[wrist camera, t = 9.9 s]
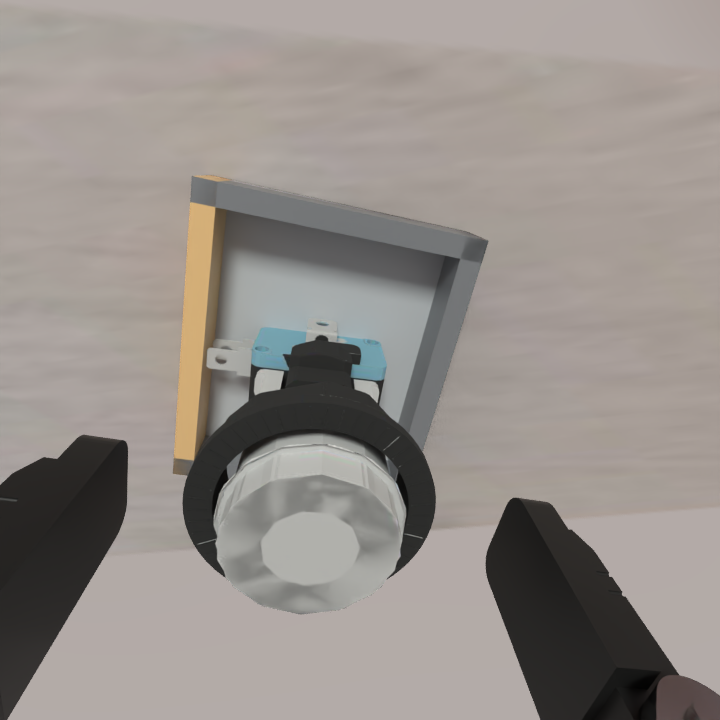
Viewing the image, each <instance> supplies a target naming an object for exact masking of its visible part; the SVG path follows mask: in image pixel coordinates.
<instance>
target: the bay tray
mask: <svg viewBox="0 0 720 720" xmlns="http://www.w3.org/2000/svg"><path fill="white" fill-rule="evenodd" d="M487 244H488V240H485V239H483V238H481V237H478V236H476V235H474V234H471V233H469V232H466V231H462V230H457V229H452V228H448V227H443V226H439V225H434V224H430V223H425V222H421V221H416V220H412V219H407V218H403V217H398V216H393V215H389V214H384V213H380V212H375V211H371V210H366V209H362V208H357V207H353V206H348V205H344V204H339V203H335V202H330V201H325V200H321V199H316V198H312V197H307V196H303V195H298V194H294V193H289V192H285V191H280V190H276V189H271V188H266V187H262V186H257V185H253V184H248V183H244V182H239V181H235V180H230V179H226V178H221V177H217V176H212V175H206V176H192V182H191V198H190V213H189V229H188V245H187V261H186V276H185V292H184V308H183V324H182V339H181V355H180V371H179V386H178V402H177V418H176V434H175V449H174V465H173V474H179V475H187V476H188V474H189V471H190V469H191V467H192V465H193V462H194V460H195V458H196V456H197V455H198V453H199V451H200V449H201V448H202V446H203V445H204V444H205V442H206V441H207V439H208V438H209V437H210V436H211V435H212V434H213V433H214V432H215V431H216V430H217V429H218V428H219V427H220V426H222V425H223V424H224V423H225V422H226V420H227V418H228V417H229V416H230V415H231V414H233V413H234V412H235V411H236V410H238V409H239V408H240V407H241V406H243V405H244V404H245V403H246V402H248V399H249V385H250V377H248V376H239V375H237V371H228V370H219V369H210V368H208V367H207V366H206V365H207V349H209V348H213V340H215V339H222V340H231V341H239V342H243V338H245V339H253V340H256V338H257V336H258V333H259V331H260V329H261V328H264V327H271V328H279V329H286V330H294V331H302V332H307V326H308V319H310V318H317V319H325V320H332V321H335V322H337V336H342V337H350V338H358V339H372V340H376V341H379V342H380V343H381V345H382V350H383V353H384V356H385V360H386V363H387V368H386V373H385V378H384V383H383V388H382V394H381V399H380V404H379V406H380V407H381V408H382V409H383V410H384V411H385V412H386V413H387V414H388V415H389V417H390V418H392V419H393V420H395V421H396V422H397V423H398V424H399V425H401V426H402V427H403V428H404V429H405V430H406V431H407V432H408V433H409V434H410V435H411V436H412V437H413V439H414V440H415V442H416V443H417V444H418V446H419V447H420V449H421V451H423V448H424V444H425V441H426V438H427V435H428V432H429V429H430V425H431V422H432V419H433V416H434V413H435V409H436V406H437V403H438V400H439V397H440V394H441V390H442V387H443V384H444V381H445V378H446V374H447V371H448V368H449V365H450V362H451V359H452V355H453V352H454V349H455V346H456V343H457V339H458V336H459V333H460V330H461V327H462V324H463V320H464V317H465V314H466V311H467V308H468V304H469V301H470V298H471V295H472V292H473V289H474V285H475V282H476V279H477V276H478V273H479V269H480V266H481V263H482V260H483V257H484V254H485V250H486V247H487ZM317 324H318V325H321V326H328V325H327V324H323V323H317ZM221 349H226V350H232V349H231V347H229V346H227V345H224V346H222V347H221ZM216 361H217V362H218V363H219V364H225V363H226V362H227V360H223V359H216ZM241 454H242V452H241V453H240V454H238V455H237V456H236V457H235V458H234V459H233V460H232V461H231V462H230V463H229V464H228V466H227V474H228V479H230V478H231V477H232V476H233V475H234V474H235V473H236V471H237V468H238V464H239V461H240V457H241ZM385 456H386V455H385ZM386 462H387V467H388V472H389V476H391V477H392V478H393V480H394V481H395V482H396V478H397V474H398V469H397V468H396V466H395V465H394V464H393V463H392V461H391V460H390V459H389V458H388V457H387V456H386Z"/></svg>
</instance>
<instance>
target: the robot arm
mask: <svg viewBox="0 0 720 720" xmlns="http://www.w3.org/2000/svg"><path fill="white" fill-rule="evenodd" d="M127 472H128V447H127V443H126V442H125V441H124V440H117V439H110V438H103V437H96V436H89V435H81V436H80V437H78V438H77V439H76V440H75V441H74V442H73V443H72V444H71V445H70V446H69V447H68V448H67V449H66V450H65V451H64V452H63V454H62V455H61V456H60V457H59V458H58V459H53V458H46V457H43V458H41V459H39V460H38V461H36V462H34V463H32V464H30V465H28V466H26V467H24V468H22V469H20V470H18V471H16V472H14V473H13V474H11V475H10V476H9V477H8V478H7V479H6V480H5V481H4V482H3V483H2V484H1V485H0V720H7V719H8V717H9V716H10V714H11V712H12V711H13V709H14V707H15V705H16V704H17V702H18V701H19V699H20V697H21V696H22V694H23V692H24V691H25V689H26V687H27V685H28V684H29V682H30V680H31V679H32V677H33V675H34V674H35V672H36V670H37V669H38V667H39V665H40V664H41V662H42V660H43V659H44V657H45V655H46V654H47V652H48V650H49V649H50V647H51V645H52V643H53V642H54V640H55V639H56V637H57V635H58V633H59V632H60V630H61V629H62V627H63V625H64V624H65V622H66V620H67V619H68V617H69V615H70V613H71V612H72V610H73V608H74V607H75V605H76V603H77V602H78V600H79V598H80V597H81V595H82V593H83V592H84V590H85V588H86V587H87V585H88V583H89V582H90V580H91V578H92V577H93V575H94V573H95V572H96V570H97V568H98V566H99V565H100V563H101V561H102V560H103V558H104V557H105V555H106V553H107V552H108V550H109V548H110V546H111V545H112V543H113V541H114V540H115V538H116V536H117V535H118V532H119V530H120V528H121V525H122V523H123V519H124V516H125V512H126V506H127ZM486 573H487V578H488V582H489V584H490V587H491V590H492V592H493V595H494V598H495V600H496V603H497V606H498V608H499V611H500V613H501V616H502V619H503V621H504V624H505V627H506V629H507V632H508V634H509V637H510V640H511V643H512V645H513V648H514V651H515V653H516V656H517V659H518V661H519V664H520V667H521V669H522V672H523V675H524V677H525V680H526V683H527V685H528V688H529V691H530V693H531V696H532V698H533V701H534V703H535V706H536V709H537V712H538V714H539V717H540V720H720V696H719V695H718V694H717V693H716V692H714V691H712V690H711V689H710V688H708V687H706V686H705V685H703V684H701V683H699V682H697V681H695V680H693V679H690V678H687V677H684V676H680V675H679V674H678V673H677V671H676V670H675V668H674V667H673V665H672V664H671V662H670V661H669V659H668V658H667V657H666V655H665V654H664V652H663V651H662V649H661V648H660V646H659V645H658V643H657V642H656V641H655V639H654V638H653V636H652V635H651V633H650V632H649V630H648V629H647V627H646V626H645V624H644V623H643V622H642V620H641V619H640V617H639V616H638V614H637V613H636V611H635V610H634V608H633V607H632V605H631V604H630V603H629V602H628V600H627V598H626V597H624V596H622V591H621V590H620V588H619V587H618V585H617V584H616V582H615V581H614V579H613V578H612V577H609V572H608V570H607V569H606V568H605V566H604V565H603V563H602V562H601V560H600V559H599V557H598V556H597V554H596V553H595V552H594V550H593V549H592V548H591V547H590V546H589V545H587V544H586V543H585V542H584V541H583V540H582V539H581V538H580V537H579V536H578V535H577V534H576V533H574V532H573V531H572V530H568V528H567V527H566V525H565V524H564V522H563V521H562V519H561V517H560V516H559V514H558V513H557V511H556V510H555V508H554V507H553V506H552V505H551V504H550V503H548V502H542V501H535V500H528V499H521V498H512V499H511V500H510V501H509V502H508V504H507V506H506V508H505V510H504V513H503V515H502V517H501V520H500V522H499V524H498V527H497V529H496V532H495V534H494V536H493V538H492V541H491V543H490V545H489V548H488V551H487V555H486Z"/></svg>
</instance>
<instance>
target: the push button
mask: <svg viewBox="0 0 720 720" xmlns="http://www.w3.org/2000/svg"><path fill="white" fill-rule="evenodd" d="M317 323H323V324H327V325H328V326H321V325H318V324H317ZM224 345H227V346H229V347H231V349H232V350H226V349H221V347H222V346H224ZM216 359H223V360H227V362H226V363H225V364H219V363H218V362H217V361H216ZM206 366H207V367H208V368H210V369H219V370H228V371H237V375H239V376H248V377H250V385H249V399H248V402H246V403H245V404H244V405H243V406H241V407H240V408H239V409H238V410H236V411H235V412H234V413H233V414H231V415H230V416H229V417H228V418H227V420H226V422H225V423H224V424H223V425H222V426H220V427H219V428H218V429H217V430H216V431H215V432H214V433H213V434H212V435H211V436H210V437H209V438H208V439H207V441H206V442H205V444H204V445H203V446H202V448H201V449H200V451H199V453H198V455H197V456H196V458H195V460H194V462H193V465H192V467H191V469H190V471H189V474H188V477H187V479H186V483H185V487H184V492H183V515H184V520H185V525H186V527H187V530H188V533H189V536H190V538H191V540H192V542H193V544H194V545H195V547H196V548H197V550H198V552H199V553H200V554H201V555H202V557H203V558H204V559H205V560H206V561H207V562H208V563H209V564H210V565H211V566H212V567H213V568H214V569H215V570H216V571H217V572H219V573H220V574H221V575H223V576H224V577H225V578H226V579H227V580H228V581H230V582H231V584H232V586H233V587H234V588H235V589H237V590H238V591H240V592H242V593H243V594H245V595H246V596H248V597H249V598H251V599H252V600H253V601H255V602H256V603H257V604H260V605H262V606H264V607H269V608H273V609H278V610H282V611H287V612H292V613H297V614H308V613H317V612H326V611H336V610H340V609H344V608H346V607H348V606H350V605H351V604H353V603H355V602H357V601H360V600H361V599H364V598H366V597H368V596H370V595H372V594H373V593H374V592H375V591H376V590H377V589H379V588H381V587H382V585H383V583H384V582H385V580H386V579H388V578H390V577H391V576H393V575H394V574H395V573H397V572H398V571H399V570H400V569H401V568H403V567H404V566H405V565H406V564H407V563H408V562H409V561H410V560H411V559H412V558H413V557H414V556H415V554H416V553H417V552H418V550H419V549H420V548H421V546H422V545H423V543H424V541H425V539H426V538H427V535H428V533H429V531H430V528H431V525H432V522H433V519H434V513H435V503H436V496H435V487H434V483H433V479H432V475H431V472H430V469H429V466H428V464H427V461H426V459H425V456H424V454H423V453H422V451H421V449H420V447H419V446H418V444H417V443H416V442H415V440H414V439H413V437H412V436H411V435H410V434H409V433H408V432H407V431H406V430H405V429H404V428H403V427H402V426H401V425H399V424H398V423H397V422H396V421H395V420H393V419H392V418H390V417H389V415H388V414H387V413H386V412H385V411H384V410H383V409H382V408H381V407H380V406H379V404H380V399H381V394H382V388H383V383H384V378H385V373H386V368H387V363H386V360H385V356H384V353H383V350H382V345H381V343H380V342H379V341H376V340H372V339H358V338H350V337H342V336H337V322H335V321H332V320H325V319H317V318H310V319H308V326H307V332H302V331H294V330H286V329H279V328H271V327H264V328H261V329H260V331H259V333H258V336H257V338H256V340H253V339H245V338H243V342H239V341H231V340H222V339H215V340H213V348H209V349H207V365H206ZM241 452H242V454H241V457H240V461H239V464H238V468H237V471H236V473H235V474H234V475H233V476H232V477H231V478H230V479H228V474H227V466H228V464H229V463H230V462H231V461H232V460H233V459H234V458H235V457H236V456H237V455H238V454H240V453H241ZM385 455H386V456H387V457H388V458H389V459H390V460H391V461H392V463H393V464H394V465H395V466H396V468H397V469H398V474H397V478H396V482H395V481H394V480H393V478H392V477H391V476H389V472H388V467H387V462H386V456H385Z"/></svg>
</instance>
